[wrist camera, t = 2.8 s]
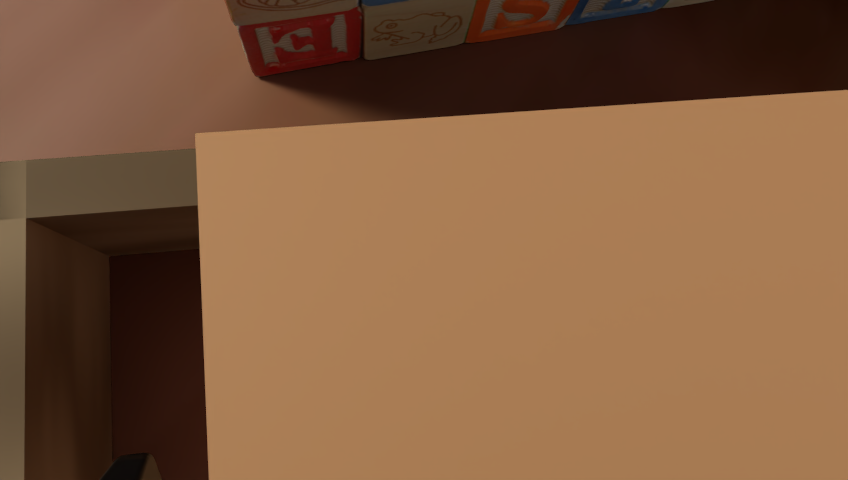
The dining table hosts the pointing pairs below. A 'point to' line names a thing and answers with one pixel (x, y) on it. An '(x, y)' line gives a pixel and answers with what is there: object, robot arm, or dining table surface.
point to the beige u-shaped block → (75, 295)
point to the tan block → (531, 294)
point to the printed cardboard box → (400, 26)
